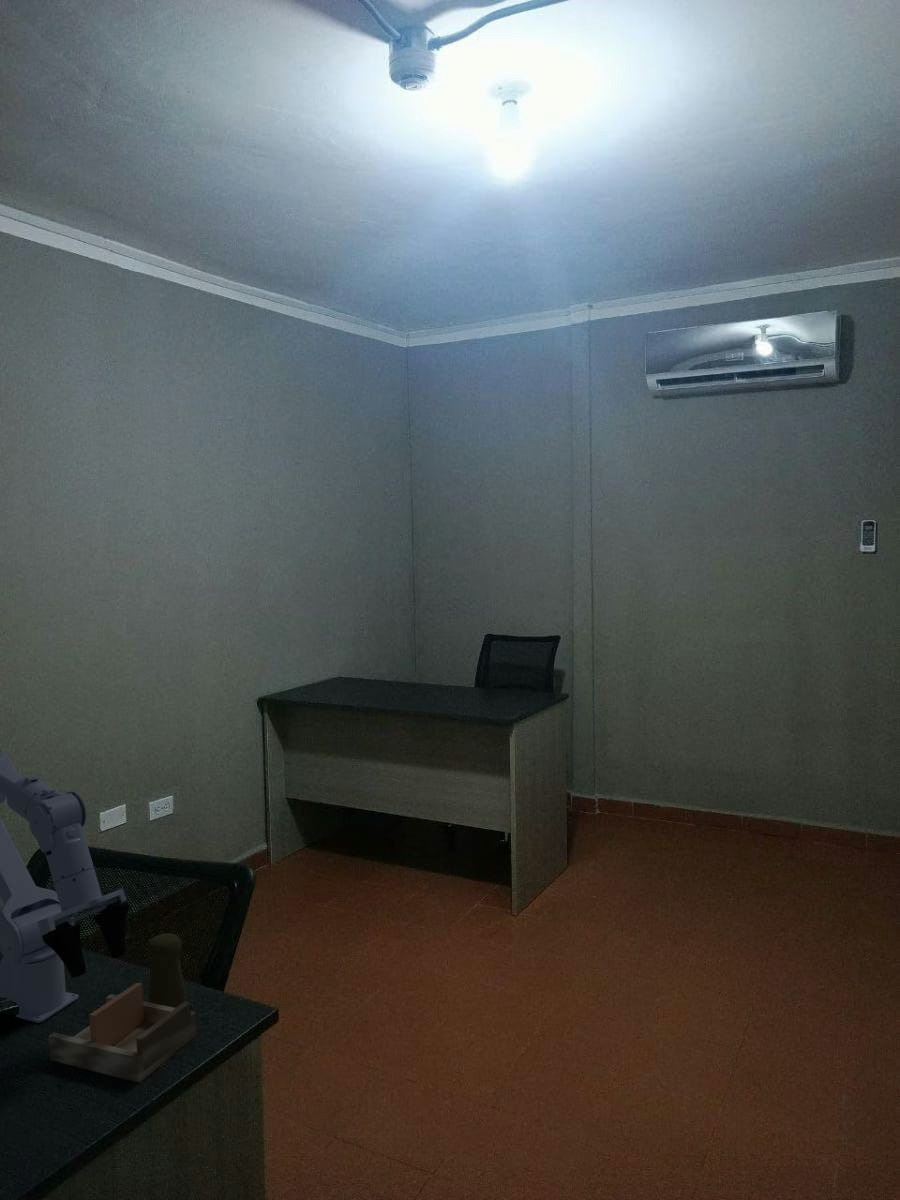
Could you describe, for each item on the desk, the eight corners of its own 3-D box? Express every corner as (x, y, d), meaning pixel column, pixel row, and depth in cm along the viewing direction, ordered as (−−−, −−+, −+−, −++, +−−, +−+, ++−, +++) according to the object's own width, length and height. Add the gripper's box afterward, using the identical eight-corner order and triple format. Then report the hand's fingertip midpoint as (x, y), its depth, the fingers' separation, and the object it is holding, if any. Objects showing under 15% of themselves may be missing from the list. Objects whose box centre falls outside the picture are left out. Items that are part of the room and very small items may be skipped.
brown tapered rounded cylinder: (175, 1016, 134) (171, 947, 134) (139, 1013, 136) (135, 945, 135) (194, 996, 140) (190, 929, 140) (160, 993, 142) (156, 927, 141)
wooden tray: (50, 1059, 124) (47, 1022, 124) (112, 1016, 135) (110, 981, 135) (139, 1082, 118) (136, 1043, 118) (196, 1035, 129) (194, 999, 129)
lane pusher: (91, 1055, 123) (89, 1014, 122) (139, 1020, 131) (136, 982, 131) (97, 1056, 122) (94, 1016, 122) (144, 1021, 131) (142, 983, 131)
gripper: (52, 881, 122) (80, 978, 120) (129, 855, 135) (154, 942, 133) (18, 894, 124) (44, 990, 122) (96, 867, 138) (121, 953, 136)
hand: (99, 965), depth 128 cm, fingers open, 7 cm apart
